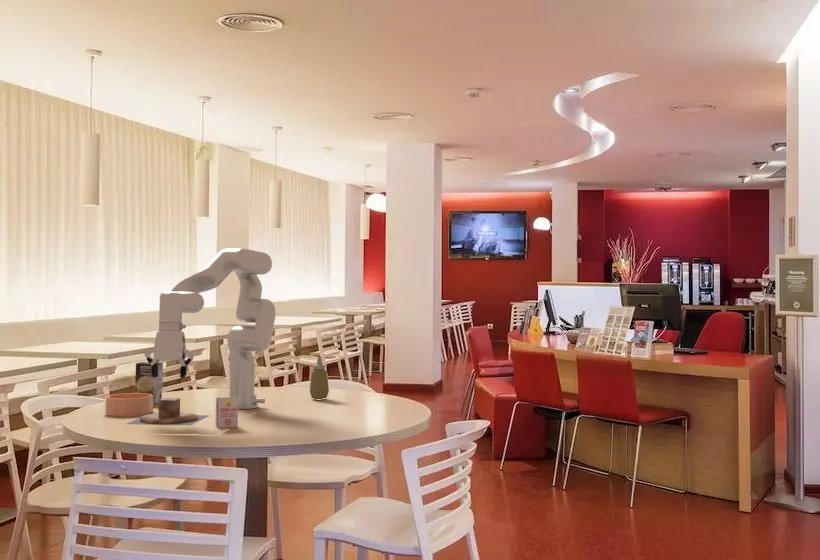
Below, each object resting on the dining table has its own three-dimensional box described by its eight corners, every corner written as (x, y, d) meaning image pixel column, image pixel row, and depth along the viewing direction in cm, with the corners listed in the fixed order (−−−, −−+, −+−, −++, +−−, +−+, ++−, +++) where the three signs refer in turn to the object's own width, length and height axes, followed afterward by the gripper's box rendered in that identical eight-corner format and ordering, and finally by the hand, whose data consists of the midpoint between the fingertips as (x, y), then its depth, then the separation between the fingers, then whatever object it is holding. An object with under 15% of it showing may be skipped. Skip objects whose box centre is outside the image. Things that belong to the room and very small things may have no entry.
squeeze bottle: (307, 398, 324) (307, 356, 324) (325, 398, 327) (326, 355, 327) (312, 401, 317) (312, 357, 317) (331, 400, 320) (331, 357, 320)
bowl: (159, 410, 288) (159, 393, 288) (142, 417, 272) (142, 399, 272) (117, 410, 288) (117, 392, 289) (97, 417, 273) (98, 398, 273)
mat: (209, 417, 274) (209, 415, 275) (190, 426, 255) (190, 425, 255) (149, 416, 276) (149, 414, 276) (125, 425, 256) (125, 423, 256)
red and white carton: (215, 427, 255) (216, 396, 255) (236, 426, 257) (236, 396, 257) (216, 429, 251) (217, 398, 251) (237, 428, 253) (238, 397, 253)
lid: (205, 415, 274) (205, 396, 274) (186, 424, 255) (187, 403, 255) (152, 414, 275) (153, 395, 275) (130, 423, 256) (131, 402, 256)
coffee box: (133, 403, 306) (134, 363, 306) (141, 401, 312) (141, 361, 312) (156, 404, 305) (156, 363, 305) (162, 402, 311) (163, 362, 311)
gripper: (198, 327, 269) (197, 377, 268) (149, 326, 270) (148, 375, 269) (191, 328, 261) (189, 379, 261) (141, 327, 262) (139, 377, 262)
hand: (168, 377), depth 265 cm, fingers open, 9 cm apart
